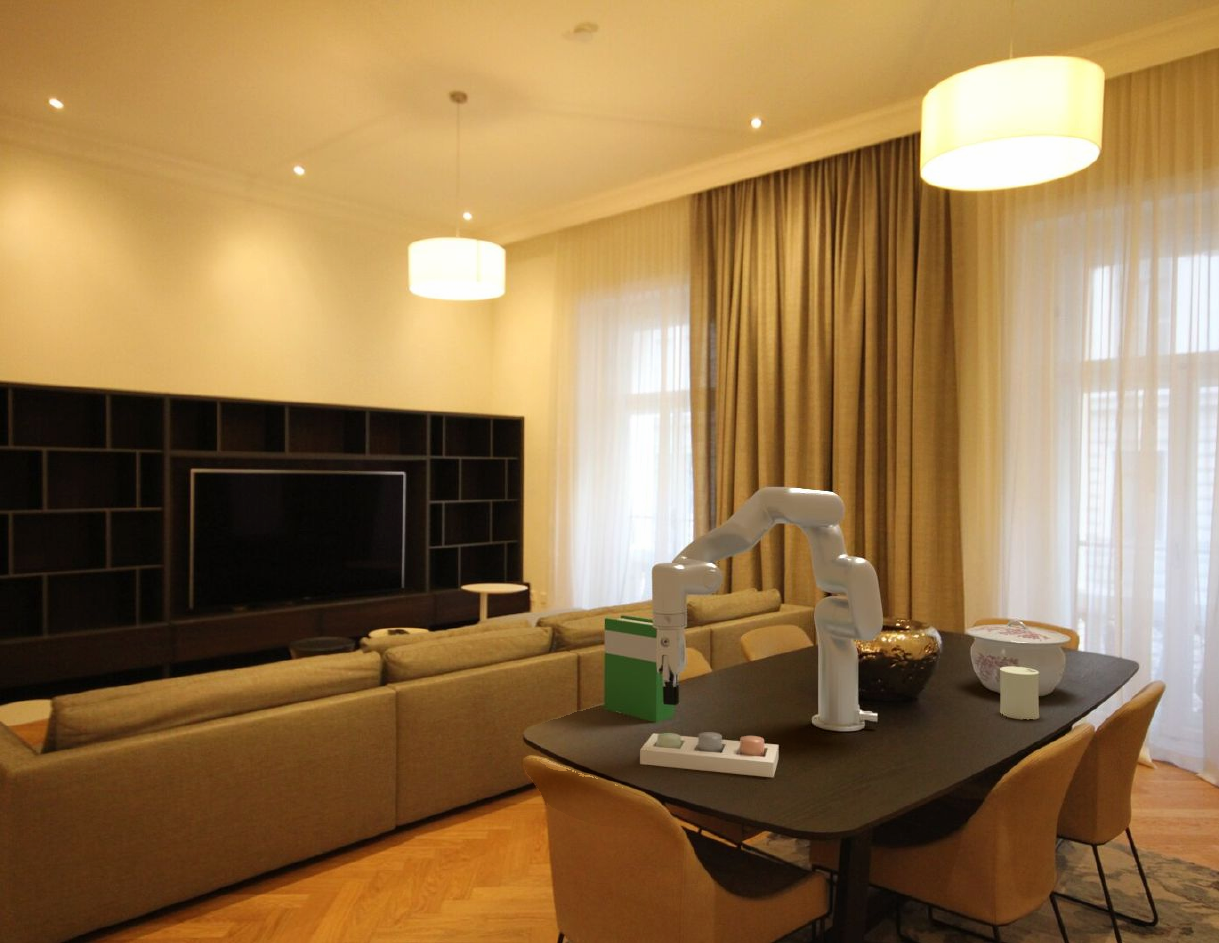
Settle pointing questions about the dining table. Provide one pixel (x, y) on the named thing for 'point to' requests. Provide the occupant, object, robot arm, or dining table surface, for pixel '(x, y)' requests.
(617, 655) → the hardback book
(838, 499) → the robot arm
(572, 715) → the dining table surface
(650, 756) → the button panel
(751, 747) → the terracotta button
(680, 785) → the dining table surface
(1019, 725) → the dining table surface
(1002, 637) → the chamber pot
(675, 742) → the sage button
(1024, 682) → the can
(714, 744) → the grey button
